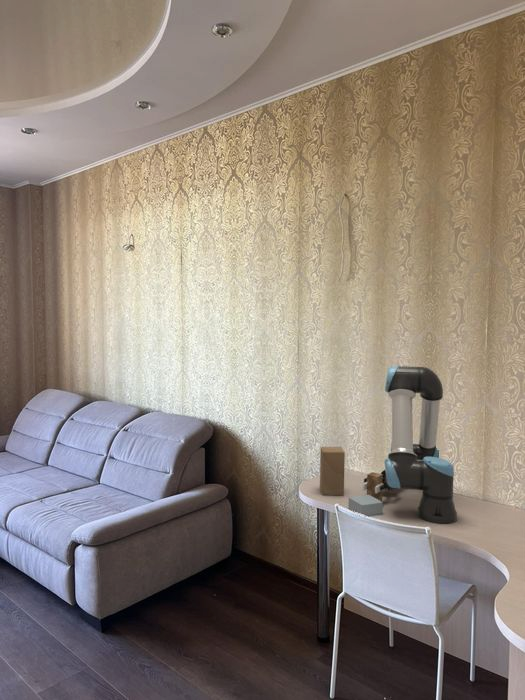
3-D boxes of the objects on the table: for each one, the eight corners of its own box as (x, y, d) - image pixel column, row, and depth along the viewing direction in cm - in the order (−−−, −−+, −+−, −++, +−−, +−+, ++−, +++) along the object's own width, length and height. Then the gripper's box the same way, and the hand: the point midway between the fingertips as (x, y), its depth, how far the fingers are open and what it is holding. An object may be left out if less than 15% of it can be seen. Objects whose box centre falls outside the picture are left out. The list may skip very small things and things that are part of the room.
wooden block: (344, 495, 228) (344, 452, 228) (321, 495, 229) (322, 451, 228) (341, 488, 238) (341, 446, 238) (319, 488, 239) (320, 446, 238)
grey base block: (382, 514, 207) (382, 502, 207) (361, 517, 203) (361, 505, 203) (368, 506, 216) (368, 494, 216) (348, 509, 213) (348, 497, 212)
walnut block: (382, 501, 222) (382, 474, 221) (377, 504, 218) (378, 476, 217) (371, 498, 225) (372, 472, 224) (366, 501, 221) (367, 474, 220)
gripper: (409, 488, 230) (389, 501, 211) (372, 480, 241) (350, 493, 222) (409, 471, 230) (389, 484, 211) (372, 464, 241) (350, 476, 222)
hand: (369, 488), depth 217 cm, fingers closed on walnut block, 5 cm apart
